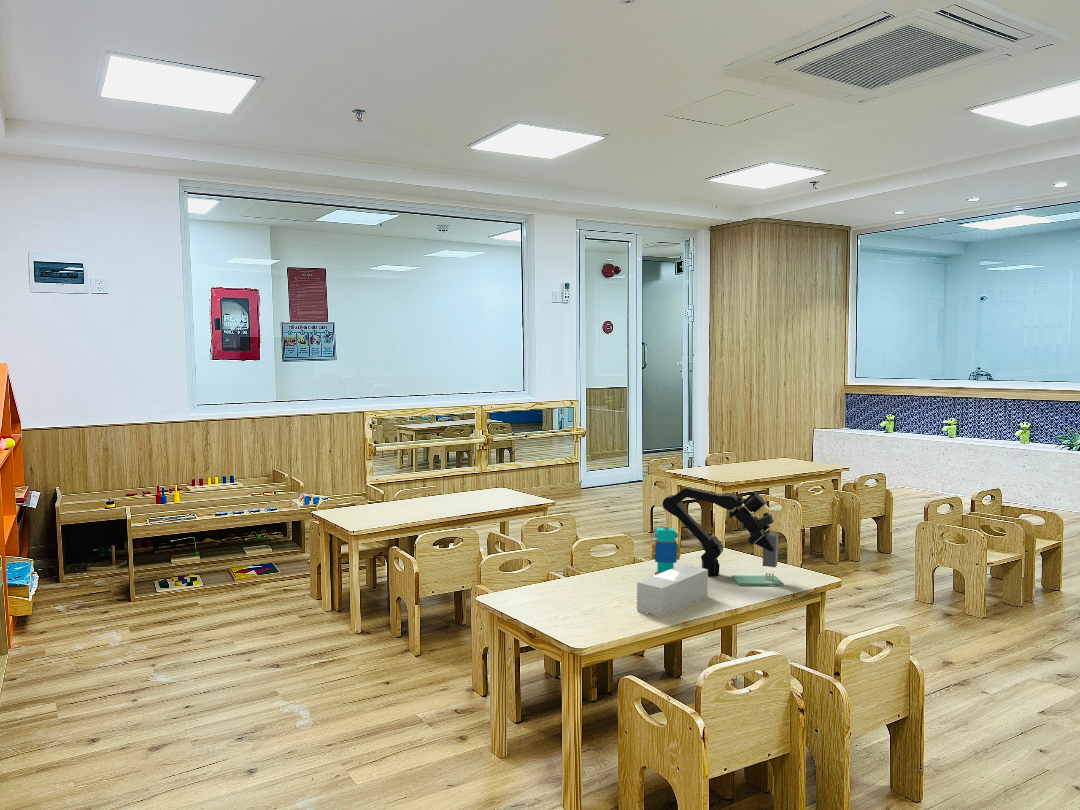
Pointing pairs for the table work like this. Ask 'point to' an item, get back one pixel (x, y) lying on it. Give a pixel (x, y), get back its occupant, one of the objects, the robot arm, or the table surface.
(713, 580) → the table surface
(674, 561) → the toy robot
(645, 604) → the stack of papers
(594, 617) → the table surface
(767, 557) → the block
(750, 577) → the board
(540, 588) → the table surface
